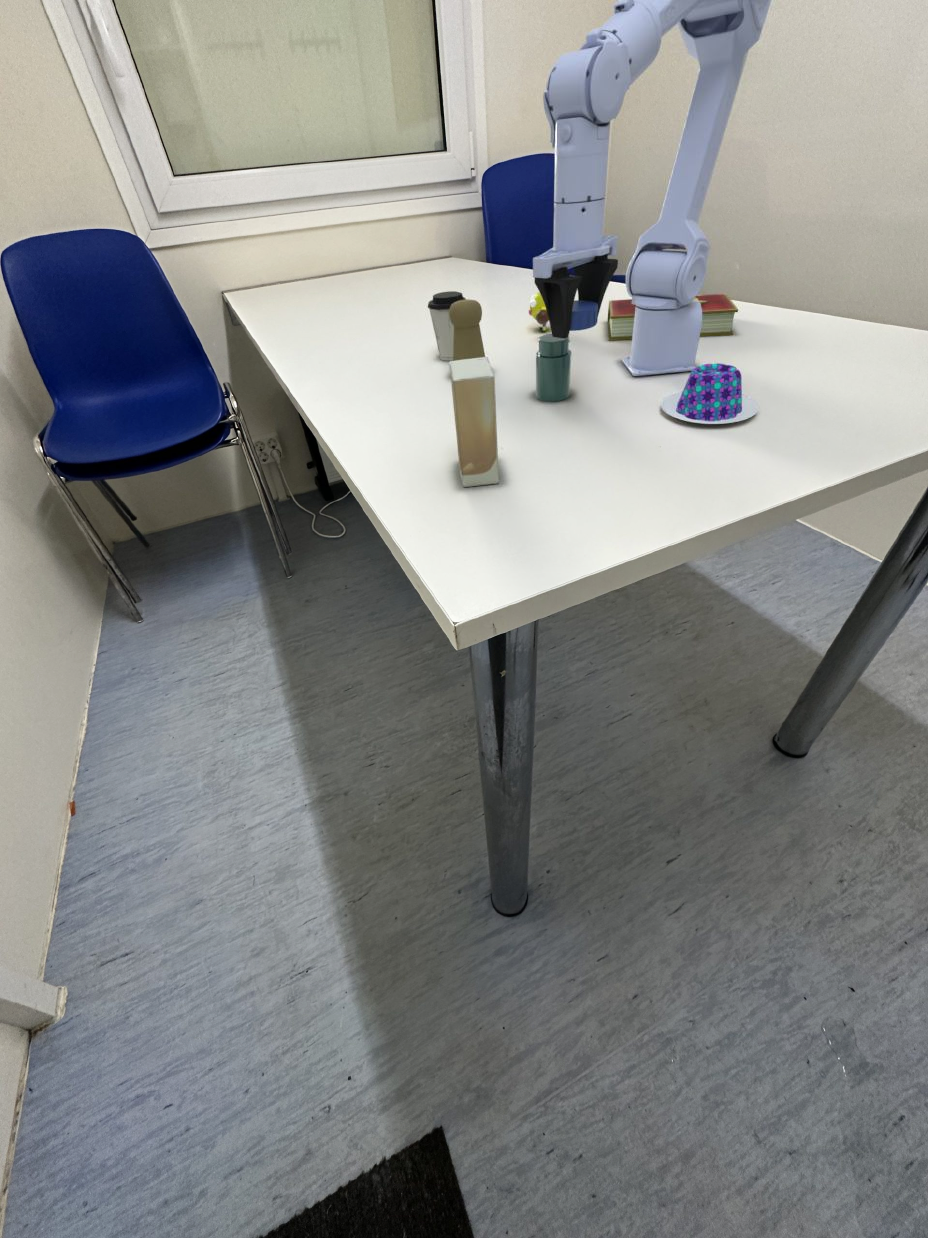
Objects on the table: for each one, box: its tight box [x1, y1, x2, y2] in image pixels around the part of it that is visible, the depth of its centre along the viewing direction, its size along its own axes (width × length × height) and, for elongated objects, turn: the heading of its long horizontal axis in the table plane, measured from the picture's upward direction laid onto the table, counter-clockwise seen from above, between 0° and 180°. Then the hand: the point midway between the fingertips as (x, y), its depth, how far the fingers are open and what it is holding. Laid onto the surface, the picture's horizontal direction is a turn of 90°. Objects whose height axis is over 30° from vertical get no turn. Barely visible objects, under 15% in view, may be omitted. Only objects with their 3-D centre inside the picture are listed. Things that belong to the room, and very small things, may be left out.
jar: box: [535, 333, 572, 403], centre depth 79 cm, size 5×5×8 cm
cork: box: [449, 298, 486, 361], centre depth 88 cm, size 6×6×11 cm
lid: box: [570, 299, 599, 332], centre depth 70 cm, size 6×6×2 cm
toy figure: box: [528, 291, 549, 333], centre depth 105 cm, size 18×6×7 cm, turn 172°
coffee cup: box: [427, 290, 467, 362], centre depth 96 cm, size 7×7×10 cm
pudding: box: [660, 362, 760, 425], centre depth 70 cm, size 12×12×5 cm
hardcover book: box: [606, 293, 739, 341], centre depth 100 cm, size 12×21×4 cm, turn 80°
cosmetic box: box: [449, 356, 500, 488], centre depth 61 cm, size 6×4×12 cm
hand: (573, 330), depth 71 cm, fingers closed on lid, 5 cm apart
